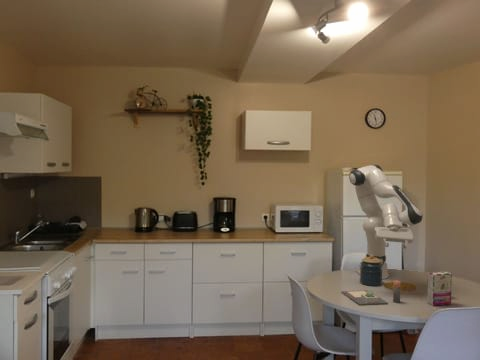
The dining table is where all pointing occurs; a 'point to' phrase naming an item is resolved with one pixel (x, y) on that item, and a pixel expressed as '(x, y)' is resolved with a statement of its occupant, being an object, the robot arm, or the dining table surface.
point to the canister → (371, 271)
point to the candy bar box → (439, 288)
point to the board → (363, 298)
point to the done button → (369, 293)
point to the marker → (396, 291)
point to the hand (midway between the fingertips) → (395, 247)
